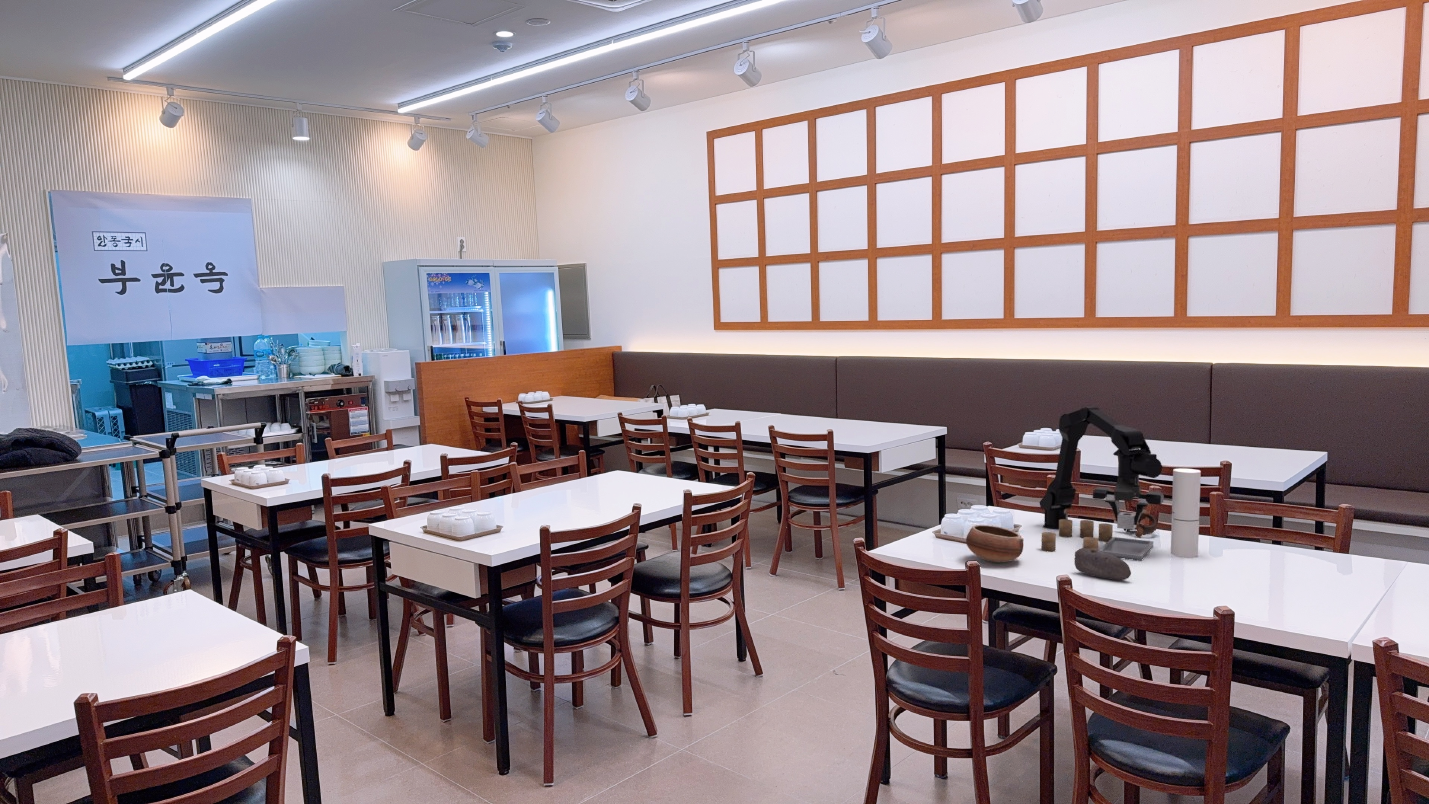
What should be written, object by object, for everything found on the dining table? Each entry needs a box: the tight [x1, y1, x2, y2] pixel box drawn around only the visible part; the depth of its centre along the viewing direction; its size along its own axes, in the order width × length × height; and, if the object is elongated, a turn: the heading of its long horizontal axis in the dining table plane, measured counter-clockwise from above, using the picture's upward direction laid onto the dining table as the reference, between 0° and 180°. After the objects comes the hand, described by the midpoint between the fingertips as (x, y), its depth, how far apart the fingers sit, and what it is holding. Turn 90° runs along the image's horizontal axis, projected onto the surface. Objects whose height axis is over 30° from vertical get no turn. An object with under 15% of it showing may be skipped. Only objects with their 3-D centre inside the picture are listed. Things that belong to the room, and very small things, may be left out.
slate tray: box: [1098, 536, 1155, 562], centre depth 277 cm, size 12×20×2 cm, turn 146°
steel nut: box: [1116, 511, 1136, 531], centre depth 276 cm, size 4×4×4 cm
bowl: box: [965, 524, 1024, 564], centre depth 268 cm, size 16×16×10 cm
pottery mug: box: [1123, 511, 1158, 538], centre depth 297 cm, size 12×10×8 cm
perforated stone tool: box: [1073, 547, 1132, 581], centre depth 250 cm, size 15×5×7 cm, turn 39°
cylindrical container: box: [1170, 467, 1202, 559], centre depth 270 cm, size 7×7×25 cm
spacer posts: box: [1041, 518, 1114, 553], centre depth 285 cm, size 16×26×5 cm, turn 146°
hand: (1126, 523), depth 276 cm, fingers closed on steel nut, 4 cm apart
